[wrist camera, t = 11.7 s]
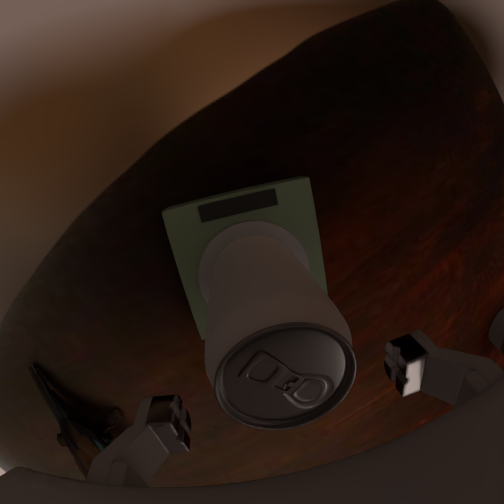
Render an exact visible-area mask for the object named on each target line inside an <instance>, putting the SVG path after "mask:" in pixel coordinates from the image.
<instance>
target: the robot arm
mask: <svg viewBox="0 0 504 504" xmlns="http://www.w3.org/2000/svg"><path fill="white" fill-rule="evenodd" d="M385 352H386V353H387V356H386V357H385V359H384V367H385V371H386V374H387V376H388V377H389V379H390V380H392V381H394V382H396V385H395V387H396V389H397V390H398V391H399V393H400V394H401V396H402V397H404V396H407V395H409V394H412V393H414V392H416V391H418V390H421V391H423V392H425V393H427V394H429V395H432V396H434V397H436V398H438V399H441V400H443V401H445V402H447V403H450V404H452V405H454V406H455V407H454V409H452V410H451V411H449V412H447V413H445V414H444V415H442V416H440V417H438V418H436V419H435V420H433V421H431V422H429V423H427V424H425V425H423V426H421V427H419V428H417V429H415V430H413V431H411V432H409V433H407V434H405V435H402V436H400V437H398V438H396V439H393V440H391V441H389V442H386V443H384V444H382V445H379V446H377V447H374V448H372V449H369V450H366V451H364V452H361V453H358V454H356V455H353V456H350V457H347V458H344V459H341V460H338V461H334V462H331V463H328V464H324V465H321V466H317V467H314V468H310V469H306V470H302V471H298V472H294V473H289V474H285V475H280V476H275V477H270V478H265V479H259V480H253V481H246V482H239V483H231V484H222V485H211V486H196V487H149V486H148V485H147V484H148V482H149V481H150V480H151V478H152V477H153V476H154V474H155V473H156V472H157V470H158V469H159V468H160V466H161V465H162V464H163V462H164V461H165V460H166V458H167V457H168V456H169V453H180V452H189V449H190V437H189V436H188V433H189V432H190V431H191V419H190V415H189V413H188V411H187V409H186V408H185V407H183V406H182V400H181V398H180V396H179V395H177V394H175V395H165V396H154V397H143V398H142V399H141V400H140V402H139V406H138V409H137V413H136V416H135V420H134V423H133V426H131V427H128V428H127V429H126V430H125V431H124V432H123V433H122V434H121V435H120V436H118V437H117V438H116V439H115V440H114V441H113V442H112V443H111V444H109V445H108V446H107V447H106V448H105V449H104V450H103V451H102V452H100V453H99V454H98V455H97V456H96V457H95V458H93V460H92V463H91V466H90V469H89V472H88V476H87V479H86V481H81V480H75V479H69V478H64V477H59V476H55V475H50V474H46V473H42V472H38V471H35V470H31V469H28V468H24V467H15V468H13V469H11V470H9V471H8V472H6V473H5V474H3V475H2V476H0V504H504V371H503V370H502V369H501V368H500V367H499V366H498V365H497V364H495V363H494V362H493V361H492V360H491V359H490V358H485V357H481V356H476V355H472V354H467V353H463V352H459V351H454V350H450V349H446V348H442V349H440V348H439V347H438V346H437V345H436V344H434V343H433V342H432V341H431V340H430V339H429V338H428V337H427V336H426V335H425V334H424V333H423V332H422V331H421V330H418V329H417V330H415V331H413V332H411V333H408V334H406V335H404V336H401V337H399V338H396V339H394V340H391V341H389V342H386V345H385Z"/></svg>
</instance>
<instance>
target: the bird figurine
mask: <svg viewBox="0 0 504 504" xmlns="http://www.w3.org/2000/svg"><path fill="white" fill-rule="evenodd" d="M28 369H29V371H30V373H31V376H32V378H33V380H34V381H35V383H36V385H37V387H38V389H39V390H40V392H41V394H42V396H43V397H44V399H45V401H46V403H47V404H48V406H49V408H50V409H51V411H52V413H53V414H54V416H55V417H56V419H57V421H58V424H59V426H60V429H61V433H59V434H57V441H58V442H59V444H60V445H61V446H67V447H68V449H69V451H70V452H71V454H72V456H73V457H74V459H75V461H76V463H77V465H78V467H79V469H80V470H81V472H82V473H83V475H84V476H85V478H86V479H87V476H88V472H89V469H90V466H91V463H92V460H93V458H95V457H96V456H97V455H98V454H99V453H100V452H102V451H103V450H104V449H105V448H106V447H107V446H108V445H109V444H111V443H112V442H113V440H112V439H114V436H112V435H111V433H109V432H108V431H109V430H110V429H112V428H113V427H115V426H116V425H117V424H118V422H119V421H120V420H122V419H123V413H122V412H121V411H120V410H118V409H115V410H113V411H112V412H110V413H109V414H107V415H106V416H105V417H104V418H102V419H101V420H99V421H98V422H97V423H95V424H93V423H92V422H91V421H90V420H89V419H88V418H87V417H85V416H84V415H82V414H81V413H80V412H79V411H77V410H76V409H75V408H73V407H72V406H71V405H70V404H69V403H67V402H66V401H65V400H63V399H62V398H61V397H59V396H58V395H57V394H56V392H55V391H54V390H51V389H50V387H49V386H48V385H47V382H46V378H45V376H44V375H43V373H42V372H41V370H40V369H39V368H36V367H35V366H33V364H32V365H30V367H29V368H28ZM107 432H108V433H107Z"/></svg>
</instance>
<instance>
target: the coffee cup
mask: <svg viewBox="0 0 504 504" xmlns="http://www.w3.org/2000/svg"><path fill="white" fill-rule="evenodd" d="M488 338H489V340H490V342H491V343H492V344H493V345H495V346H496V347H497V348H498V349H499V350H500V351H501V352H502V354H503V355H504V308H503V309H501V310H500V311H499V312H498V314H497V315H496V316H495V318H494V320H493V322H492V324H491V326H490V329H489V333H488Z"/></svg>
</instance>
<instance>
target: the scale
mask: <svg viewBox="0 0 504 504" xmlns="http://www.w3.org/2000/svg"><path fill="white" fill-rule="evenodd" d="M162 216H163V220H164V223H165V227H166V231H167V234H168V238H169V241H170V245H171V248H172V251H173V255H174V258H175V261H176V265H177V268H178V271H179V274H180V278H181V281H182V284H183V287H184V290H185V293H186V296H187V299H188V302H189V305H190V308H191V311H192V314H193V317H194V320H195V323H196V326H197V329H198V331H199V334H200V337H201V339H202V340H205V339H206V326H207V315H208V304H209V294H210V285H211V277H212V271H213V267H214V264H215V262H216V260H217V258H218V256H219V255H220V253H221V252H222V251H223V250H224V249H225V248H226V247H227V246H228V245H229V244H231V243H232V242H234V241H236V240H238V239H240V238H243V237H247V236H253V235H262V236H268V237H271V238H274V239H276V240H278V241H280V242H282V243H283V244H285V245H286V246H287V247H288V248H289V249H290V250H291V251H292V252H293V253H294V255H295V256H296V257H297V258H298V259H299V261H300V262H301V263H302V264H303V265H304V267H305V268H306V269H307V270H308V272H309V273H310V274H311V275H312V277H313V278H314V279H315V280H316V282H317V283H318V284H319V286H320V287H321V288H322V289H323V291H324V292H325V293H326V294H327V296H328V293H327V285H326V277H325V270H324V263H323V256H322V249H321V243H320V236H319V230H318V224H317V218H316V212H315V206H314V201H313V195H312V190H311V185H310V179H309V177H302V176H299V177H294V178H289V179H284V180H279V181H274V182H269V183H265V184H260V185H255V186H251V187H246V188H242V189H238V190H233V191H229V192H225V193H221V194H217V195H213V196H209V197H205V198H201V199H197V200H193V201H189V202H185V203H181V204H177V205H174V206H170V207H168V208H166V209H165V210H163V211H162Z"/></svg>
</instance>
